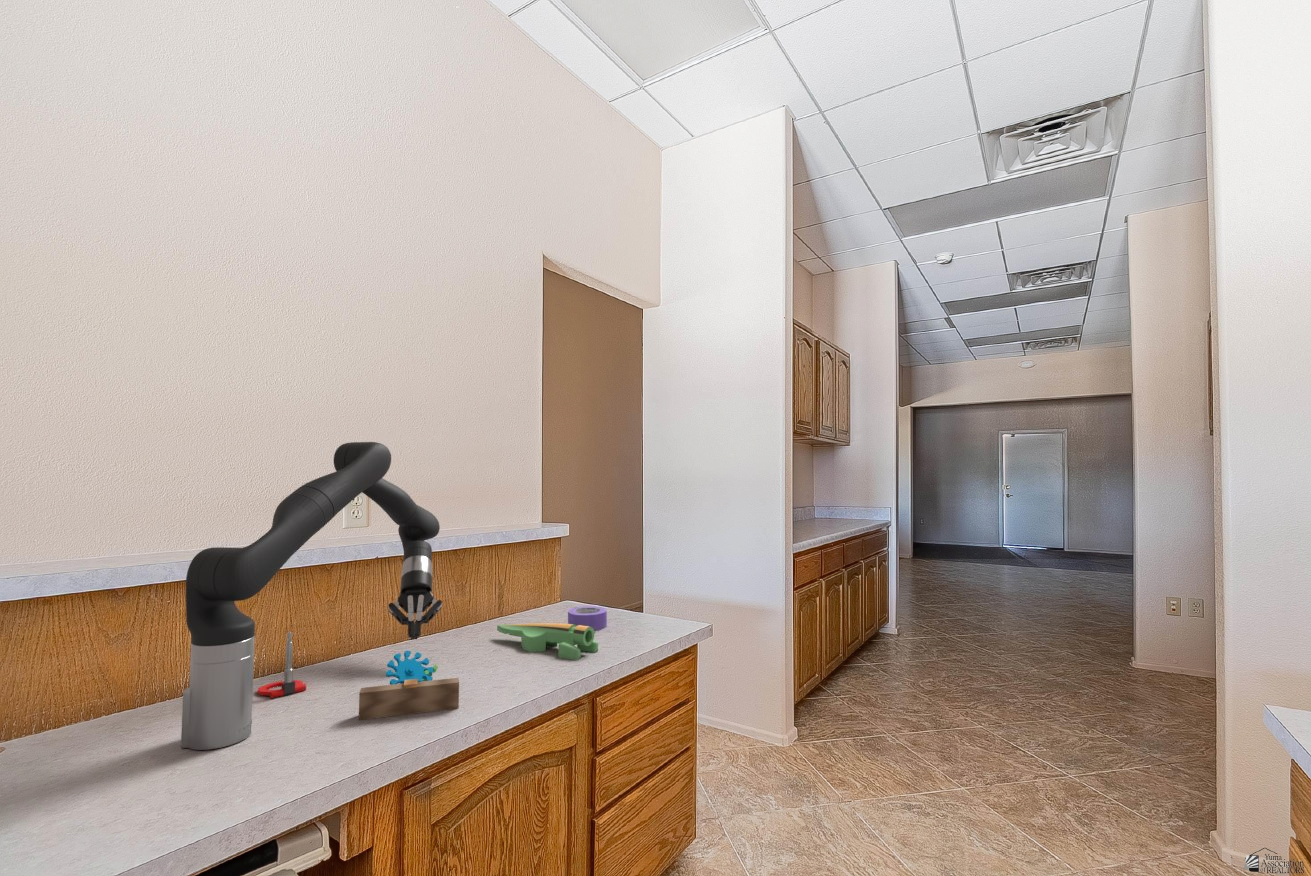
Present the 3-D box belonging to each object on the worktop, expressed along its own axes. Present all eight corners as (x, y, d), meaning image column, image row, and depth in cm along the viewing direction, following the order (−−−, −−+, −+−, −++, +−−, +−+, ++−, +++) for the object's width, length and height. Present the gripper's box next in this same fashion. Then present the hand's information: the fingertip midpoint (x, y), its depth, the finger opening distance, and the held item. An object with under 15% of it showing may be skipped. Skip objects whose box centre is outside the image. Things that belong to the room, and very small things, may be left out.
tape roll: (582, 633, 180) (582, 616, 180) (560, 626, 189) (560, 609, 189) (614, 627, 188) (614, 610, 188) (591, 620, 196) (592, 604, 197)
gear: (390, 692, 126) (385, 649, 133) (380, 708, 129) (376, 665, 136) (442, 688, 133) (435, 647, 140) (432, 703, 136) (426, 662, 142)
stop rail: (358, 720, 116) (359, 689, 117) (360, 713, 120) (361, 684, 120) (458, 708, 122) (459, 679, 123) (458, 702, 126) (458, 674, 126)
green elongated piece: (483, 643, 170) (483, 616, 170) (510, 634, 179) (510, 609, 179) (576, 661, 154) (576, 631, 154) (600, 650, 163) (600, 622, 163)
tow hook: (251, 692, 132) (267, 700, 127) (253, 631, 134) (268, 636, 128) (294, 682, 139) (311, 690, 133) (295, 624, 140) (312, 628, 134)
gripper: (388, 570, 155) (383, 631, 143) (444, 567, 159) (443, 626, 147) (389, 587, 159) (384, 648, 147) (443, 585, 164) (443, 643, 152)
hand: (414, 637), depth 147 cm, fingers closed
